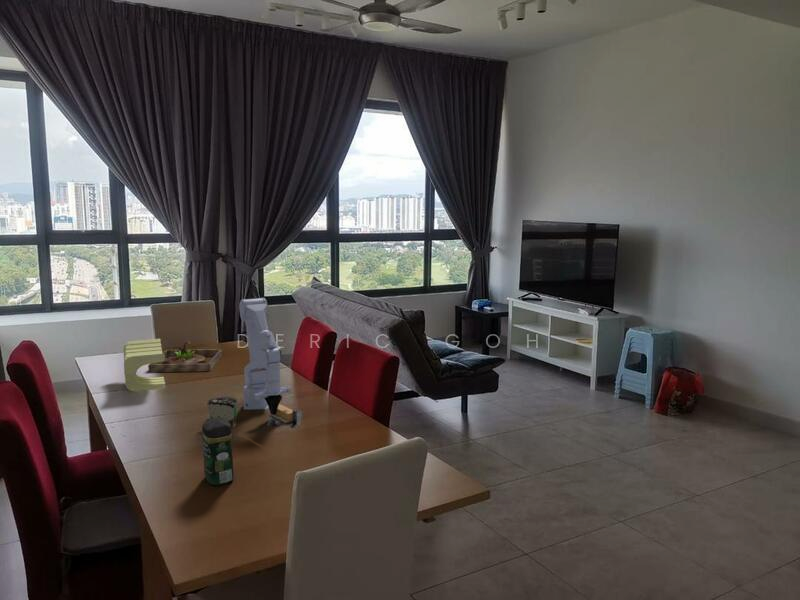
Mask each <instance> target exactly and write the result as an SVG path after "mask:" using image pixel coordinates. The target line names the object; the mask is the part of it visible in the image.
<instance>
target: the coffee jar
mask: <svg viewBox="0 0 800 600" xmlns="http://www.w3.org/2000/svg"><path fill="white" fill-rule="evenodd" d="M201 427H202V428H201V429H202V430H201V431H202V432H201V433H202V448H203V468H204V469H203V470H204V473H203V474H204V478H205V480H206V481H207V483H208V484H209V485H212V486H222V485H225V484H228V483H230V482H232V481H233V480H234V478H235V475H234V458H233V457H234V456H233V441H232V440H233V431H232V430H233V429H231V425H230V423H229V422H228V421H227V420H225V419H223V418H220V417H215V418H207V419H206V420H205V421H203V422H202V425H201Z"/></svg>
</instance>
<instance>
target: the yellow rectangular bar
mask: <svg viewBox="0 0 800 600" xmlns="http://www.w3.org/2000/svg"><path fill="white" fill-rule="evenodd" d="M293 410H294V409H291V408H289V407H287V406H285V405H283V404H280V403H279V405H278V409H277V413H276V414H277V415H278V416H280V417H282V418H284V419H286V420H291V419H293V415H292V411H293Z"/></svg>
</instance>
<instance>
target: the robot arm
mask: <svg viewBox="0 0 800 600" xmlns="http://www.w3.org/2000/svg"><path fill="white" fill-rule="evenodd" d="M238 308H239V316H240V319H241V321H243V322H244V323H245V327H246V328H245V329H246V337H247V345H248V353H249V361H250V362H249V363H248V364H247V365H246V366H244V369H243V371H244V372H243V374H244V375H243V380H244V383H245V385H244V386H243V392H242V393H243V394H242V396H243V397H242V398H243V410H268V409H269V412H270V413H269V414H270V415H271V414H272V415H275V414H276V413H277V409H278V405H279V404H280V403H281V401H282V399H283V396H282V394H285V393H286V394H287V393H288V394H289V393H291V391H292V390H291V389H292V388H291V386H281V362H282V361H283V353H282V349H281V347H280V346H279V345H278V344H277V343H276V339H275V337H274V334H273V332H272V331H270V330H269V325H268V321H267V318H266V315H267V312H268V301H267V299H266V298H265V297H258V298H247V299H244V298H243V299H241V300H240V302H239V305H238Z"/></svg>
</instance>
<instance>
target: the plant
mask: <svg viewBox="0 0 800 600" xmlns="http://www.w3.org/2000/svg"><path fill="white" fill-rule="evenodd" d="M186 344H187V345H191V342H190V341H189V340H188V341H185V342H184V344H183V345H182V347H183V348H182V347H180V346H174V347H172V349H171V350H173V351H174V350H176V348H177V349H178V350H180V351H179V352H180V353H179V352H175V353H176V356H172V357H167V358H166V359H165V360H164V362H162V364H207V363H206V362H207V359H206V356H202V355H197V354H193V353H194V352H195V351H193V352H191V353H190V350H191V349H189V348H188V347H186Z"/></svg>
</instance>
